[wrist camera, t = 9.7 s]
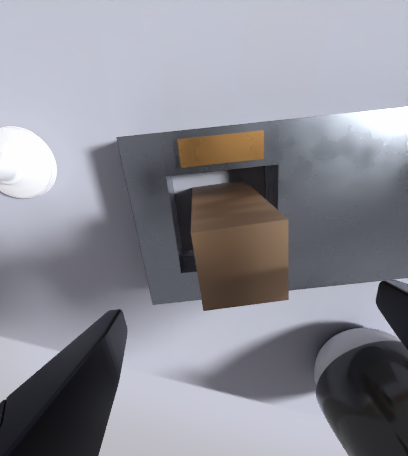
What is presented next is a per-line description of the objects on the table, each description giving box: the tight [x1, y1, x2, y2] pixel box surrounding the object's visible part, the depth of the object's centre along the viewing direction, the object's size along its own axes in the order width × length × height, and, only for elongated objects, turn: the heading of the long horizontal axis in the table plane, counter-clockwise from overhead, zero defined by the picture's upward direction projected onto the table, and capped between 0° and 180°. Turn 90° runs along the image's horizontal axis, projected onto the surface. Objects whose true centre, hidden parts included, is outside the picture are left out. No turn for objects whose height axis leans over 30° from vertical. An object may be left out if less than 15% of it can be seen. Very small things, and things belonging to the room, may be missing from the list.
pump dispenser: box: [314, 328, 408, 456], centre depth 18 cm, size 10×10×15 cm
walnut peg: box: [191, 181, 288, 311], centre depth 15 cm, size 4×4×9 cm
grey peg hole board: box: [116, 107, 408, 305], centre depth 17 cm, size 20×12×3 cm, turn 96°
